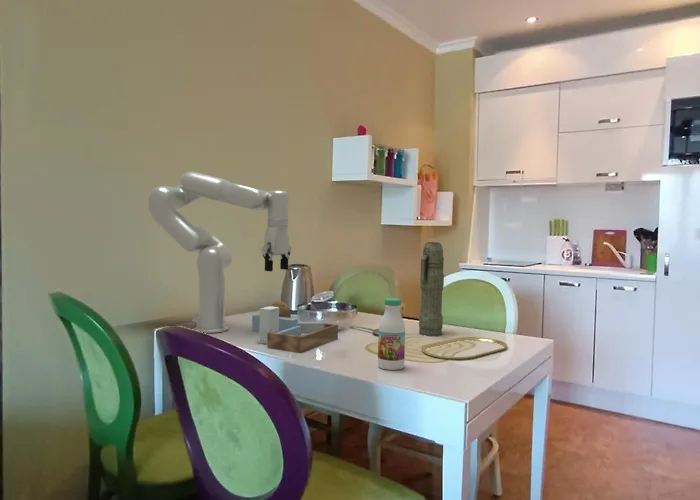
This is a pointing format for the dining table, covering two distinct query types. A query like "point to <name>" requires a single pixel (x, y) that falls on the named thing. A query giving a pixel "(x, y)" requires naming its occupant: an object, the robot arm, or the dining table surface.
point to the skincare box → (268, 322)
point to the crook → (280, 325)
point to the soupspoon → (367, 329)
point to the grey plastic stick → (310, 326)
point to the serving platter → (463, 340)
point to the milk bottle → (391, 337)
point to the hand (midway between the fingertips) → (276, 270)
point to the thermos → (431, 290)
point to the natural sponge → (282, 309)
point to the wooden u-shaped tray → (302, 339)
